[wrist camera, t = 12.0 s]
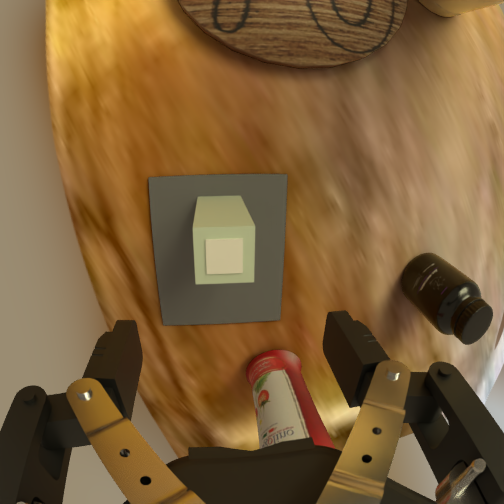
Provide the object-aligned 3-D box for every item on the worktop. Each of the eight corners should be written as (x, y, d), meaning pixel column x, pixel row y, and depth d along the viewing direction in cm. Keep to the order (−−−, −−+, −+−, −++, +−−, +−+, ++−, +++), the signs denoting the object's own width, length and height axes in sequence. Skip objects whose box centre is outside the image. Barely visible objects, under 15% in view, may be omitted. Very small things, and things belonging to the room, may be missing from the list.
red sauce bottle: (274, 391, 40) (328, 586, 14) (230, 370, 38) (265, 595, 12) (312, 357, 39) (399, 559, 13) (269, 331, 36) (345, 573, 11)
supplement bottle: (405, 251, 35) (468, 299, 24) (445, 250, 36) (507, 292, 25) (394, 302, 38) (446, 358, 26) (433, 297, 38) (486, 346, 27)
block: (197, 196, 29) (192, 228, 20) (240, 195, 30) (255, 226, 21) (199, 237, 31) (195, 285, 21) (240, 236, 31) (254, 283, 22)
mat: (149, 177, 28) (148, 177, 28) (286, 174, 30) (287, 174, 30) (163, 323, 34) (163, 325, 34) (279, 318, 36) (280, 320, 36)
